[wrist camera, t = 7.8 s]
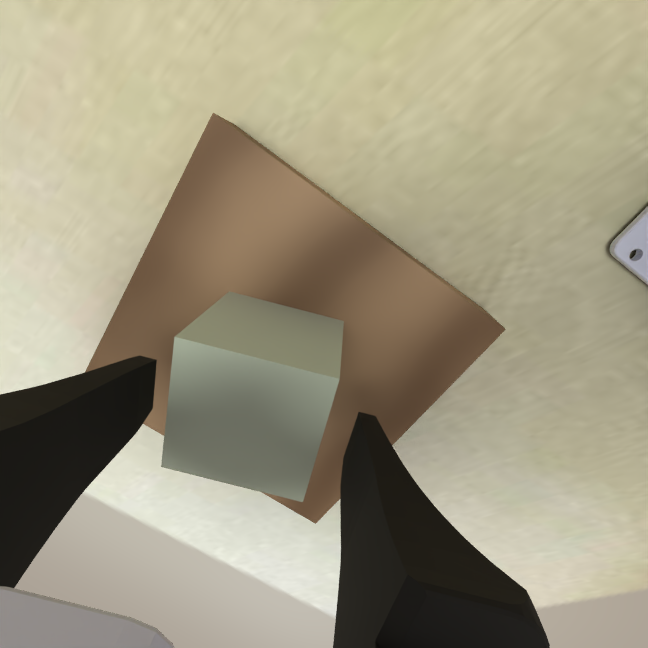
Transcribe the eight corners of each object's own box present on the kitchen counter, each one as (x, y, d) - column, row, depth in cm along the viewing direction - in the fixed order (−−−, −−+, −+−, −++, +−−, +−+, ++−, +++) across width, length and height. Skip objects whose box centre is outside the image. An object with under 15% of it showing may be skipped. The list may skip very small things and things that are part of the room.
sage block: (343, 321, 15) (339, 378, 11) (316, 416, 17) (302, 502, 12) (229, 291, 15) (174, 336, 11) (214, 390, 17) (161, 466, 12)
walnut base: (484, 310, 17) (505, 329, 15) (319, 487, 22) (315, 523, 19) (234, 124, 15) (213, 112, 13) (110, 362, 20) (78, 386, 18)
